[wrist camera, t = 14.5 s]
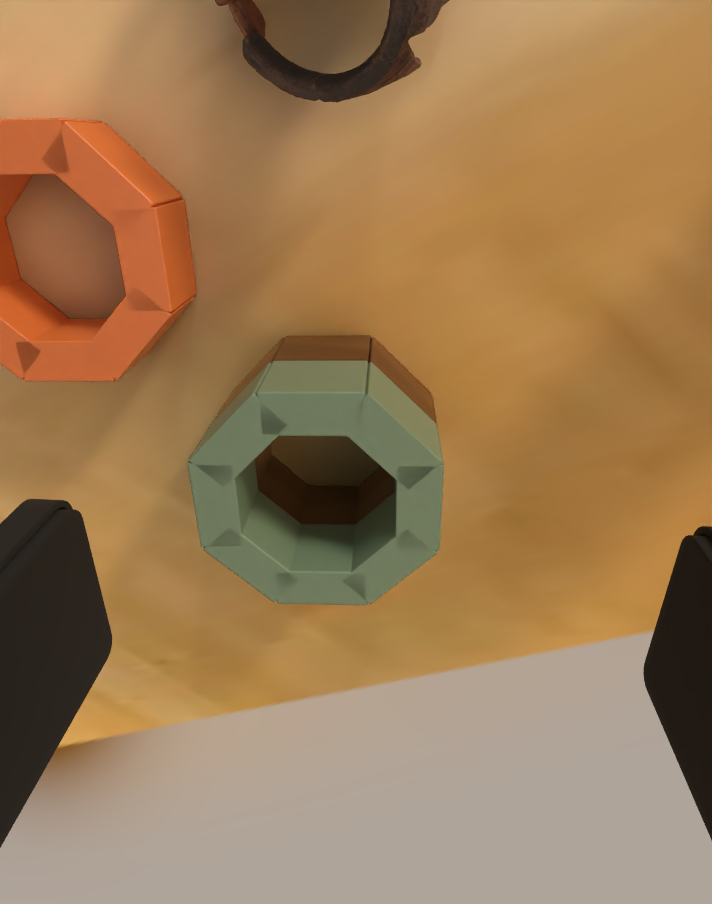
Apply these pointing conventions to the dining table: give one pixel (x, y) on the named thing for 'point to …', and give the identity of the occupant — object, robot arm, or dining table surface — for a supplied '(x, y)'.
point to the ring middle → (319, 546)
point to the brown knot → (392, 60)
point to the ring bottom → (325, 500)
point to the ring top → (138, 242)
